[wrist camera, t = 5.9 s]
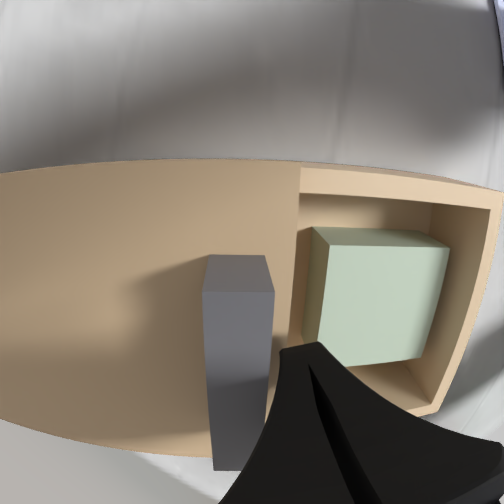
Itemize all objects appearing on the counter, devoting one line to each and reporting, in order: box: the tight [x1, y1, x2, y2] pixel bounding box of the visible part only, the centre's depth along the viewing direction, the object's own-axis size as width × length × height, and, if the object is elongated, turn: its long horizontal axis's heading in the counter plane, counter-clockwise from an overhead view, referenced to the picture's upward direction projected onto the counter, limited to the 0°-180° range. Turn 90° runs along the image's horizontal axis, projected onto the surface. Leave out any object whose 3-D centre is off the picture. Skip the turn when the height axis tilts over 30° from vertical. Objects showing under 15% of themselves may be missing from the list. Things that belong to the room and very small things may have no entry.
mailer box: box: [153, 159, 504, 417], centre depth 14 cm, size 16×12×5 cm
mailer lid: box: [0, 159, 301, 471], centre depth 9 cm, size 16×12×3 cm
